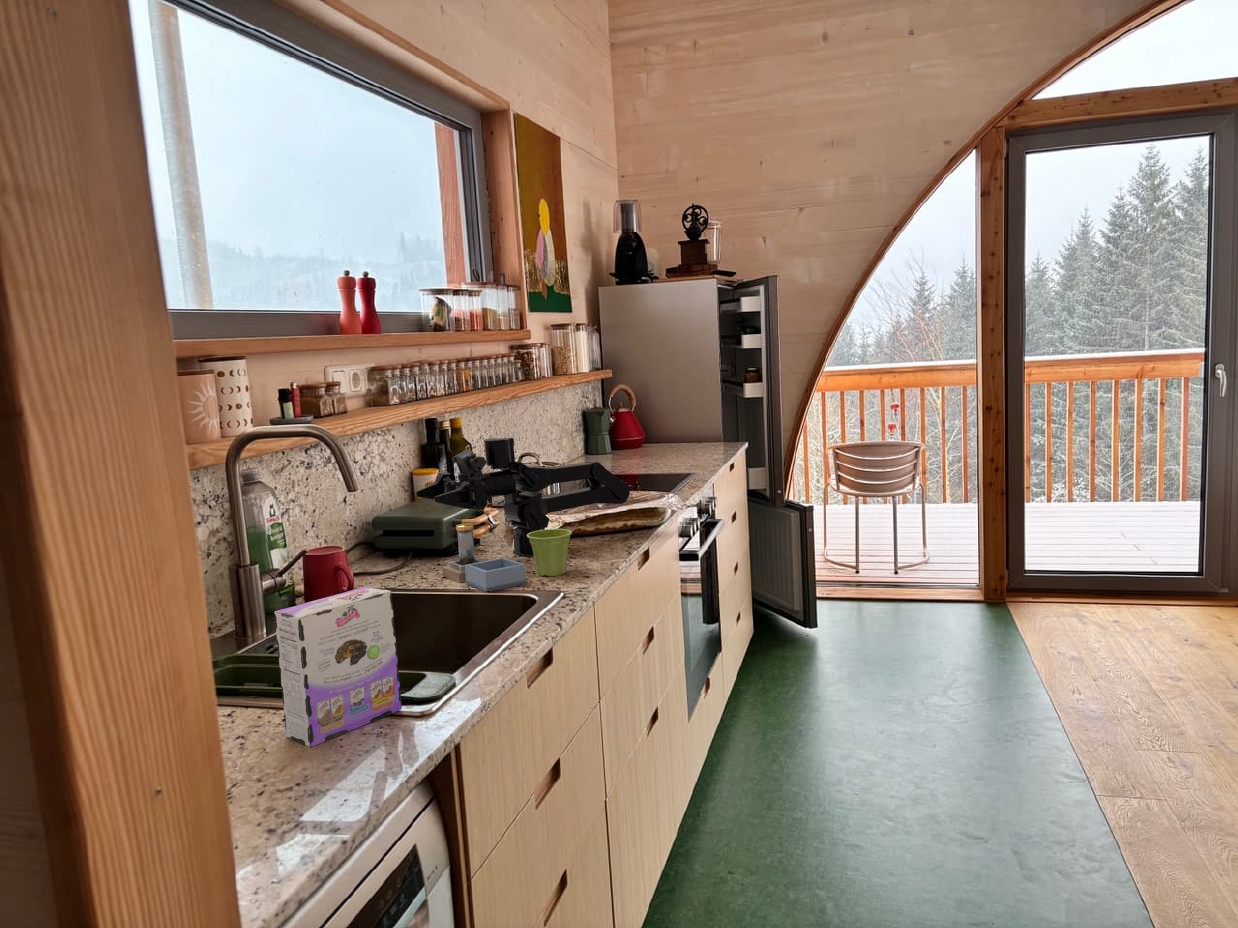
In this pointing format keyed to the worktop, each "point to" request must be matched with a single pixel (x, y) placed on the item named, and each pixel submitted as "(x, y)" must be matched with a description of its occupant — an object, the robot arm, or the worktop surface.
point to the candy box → (337, 664)
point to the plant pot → (550, 550)
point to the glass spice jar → (465, 543)
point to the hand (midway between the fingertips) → (425, 496)
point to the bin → (495, 574)
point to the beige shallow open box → (456, 571)
